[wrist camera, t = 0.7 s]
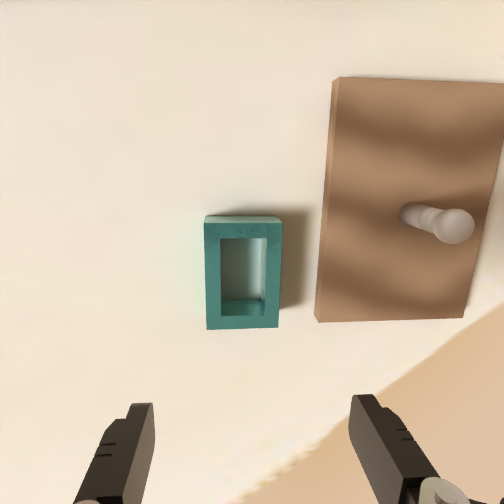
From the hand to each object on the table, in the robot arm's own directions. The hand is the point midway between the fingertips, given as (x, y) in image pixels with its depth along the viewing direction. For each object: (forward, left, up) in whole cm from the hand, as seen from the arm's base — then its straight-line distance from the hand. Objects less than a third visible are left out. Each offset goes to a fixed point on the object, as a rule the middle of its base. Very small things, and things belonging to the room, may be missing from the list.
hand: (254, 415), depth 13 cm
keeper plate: (-6, +14, -16) cm, 23 cm away
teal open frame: (-1, 0, -16) cm, 16 cm away
